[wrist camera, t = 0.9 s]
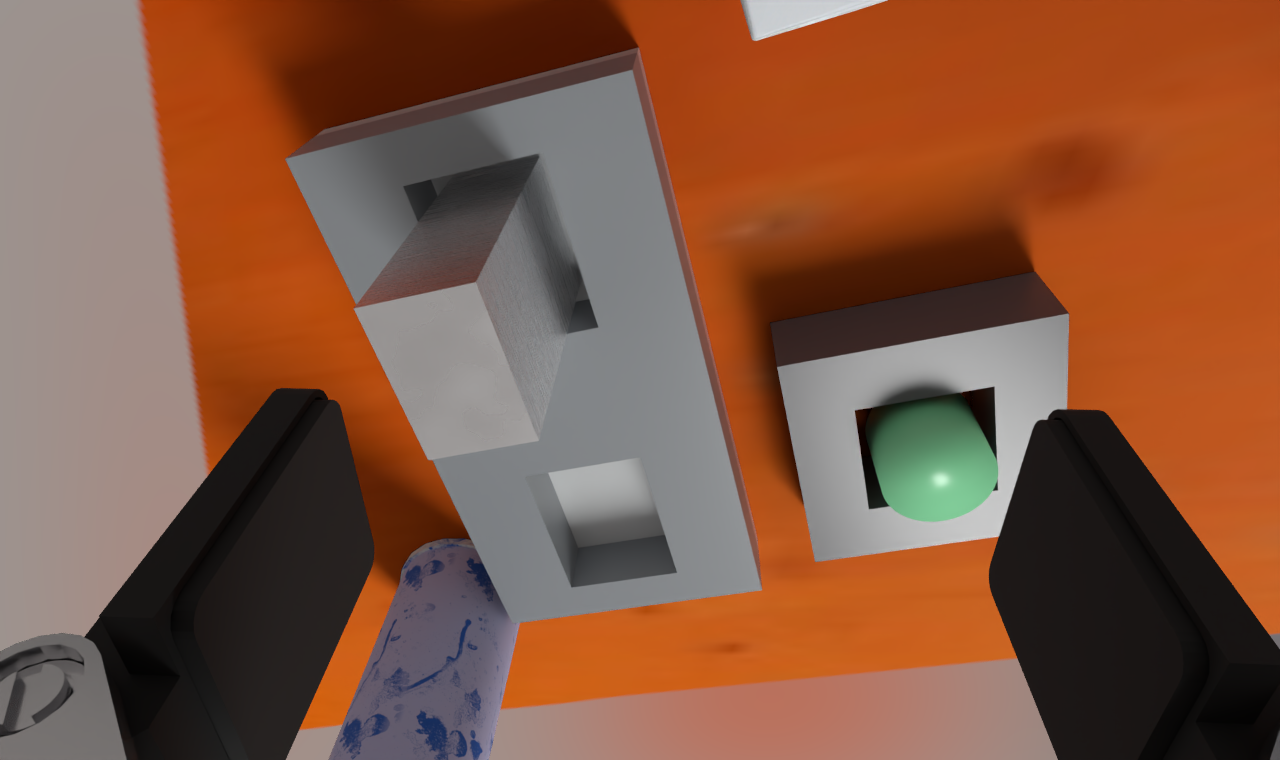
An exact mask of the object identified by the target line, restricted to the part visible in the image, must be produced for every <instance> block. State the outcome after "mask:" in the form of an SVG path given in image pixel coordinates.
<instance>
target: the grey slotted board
mask: <svg viewBox="0 0 1280 760" xmlns="http://www.w3.org/2000/svg"><path fill="white" fill-rule="evenodd" d="M538 156H540V158H541V161H542V164H543V167H544V170H545V174H546V177H547V180H548V183H549V186H550V189H551V192H552V195H553V198H554V201H555V205H556V208H557V211H558V214H559V217H560V220H561V223H562V226H563V229H564V232H565V235H566V239H567V242H568V245H569V248H570V251H571V254H572V257H573V260H574V263H575V266H576V270H577V273H578V276H579V279H580V282H581V283H580V287H579V291H578V294H577V298H576V302H575V306H574V310H573V313H572V317H571V321H570V325H569V328H568V332H567V336H566V340H565V344H564V347H563V351H562V355H561V359H560V362H559V366H558V370H557V374H556V378H555V381H554V385H553V389H552V393H551V396H550V400H549V404H548V408H547V412H546V415H545V419H544V423H543V427H542V430H541V434H540V438H539V441H535V442H530V443H524V444H518V445H513V446H507V447H501V448H496V449H490V450H484V451H479V452H473V453H467V454H461V455H456V456H450V457H444V458H439V459H433V462H434V464H435V466H436V468H437V470H438V472H439V474H440V476H441V479H442V481H443V483H444V485H445V487H446V489H447V491H448V493H449V495H450V497H451V499H452V501H453V503H454V505H455V507H456V509H457V511H458V513H459V515H460V517H461V519H462V521H463V524H464V526H465V528H466V530H467V532H468V534H469V536H470V538H471V540H472V542H473V544H474V546H475V548H476V550H477V552H478V554H479V556H480V558H481V560H482V562H483V564H484V566H485V569H486V571H487V573H488V575H489V577H490V579H491V581H492V583H493V585H494V587H495V589H496V591H497V593H498V595H499V597H500V599H501V601H502V603H503V605H504V607H505V609H506V611H507V614H508V616H509V618H510V620H511V622H512V624H514V623H521V622H529V621H536V620H543V619H551V618H558V617H566V616H573V615H581V614H588V613H595V612H603V611H610V610H618V609H625V608H633V607H640V606H648V605H655V604H662V603H670V602H677V601H685V600H692V599H700V598H707V597H714V596H722V595H729V594H737V593H744V592H752V591H759V590H762V584H761V573H760V562H759V551H758V540H757V534H756V530H755V526H754V522H753V517H752V513H751V509H750V505H749V501H748V497H747V493H746V489H745V484H744V480H743V476H742V472H741V468H740V464H739V460H738V455H737V451H736V447H735V443H734V439H733V435H732V431H731V427H730V422H729V418H728V414H727V410H726V406H725V402H724V398H723V393H722V389H721V385H720V381H719V377H718V373H717V369H716V365H715V360H714V356H713V352H712V348H711V344H710V340H709V336H708V331H707V327H706V323H705V319H704V315H703V311H702V307H701V303H700V298H699V294H698V290H697V286H696V282H695V278H694V274H693V269H692V265H691V261H690V257H689V253H688V249H687V245H686V241H685V236H684V232H683V228H682V224H681V220H680V216H679V212H678V207H677V203H676V199H675V195H674V191H673V187H672V183H671V179H670V174H669V170H668V166H667V162H666V158H665V154H664V150H663V145H662V141H661V137H660V133H659V129H658V125H657V121H656V117H655V112H654V108H653V104H652V100H651V96H650V92H649V88H648V84H647V79H646V75H645V71H644V67H643V63H642V59H641V55H640V50H639V47H638V48H634V49H631V50H627V51H623V52H619V53H615V54H611V55H608V56H604V57H600V58H596V59H592V60H588V61H585V62H581V63H577V64H573V65H569V66H566V67H562V68H558V69H554V70H550V71H546V72H543V73H539V74H535V75H531V76H527V77H523V78H520V79H516V80H512V81H508V82H504V83H500V84H497V85H493V86H489V87H485V88H481V89H477V90H474V91H470V92H466V93H462V94H458V95H454V96H451V97H447V98H443V99H439V100H435V101H432V102H428V103H424V104H420V105H416V106H412V107H409V108H405V109H401V110H397V111H393V112H389V113H386V114H382V115H378V116H374V117H370V118H366V119H363V120H359V121H355V122H351V123H347V124H343V125H340V126H336V127H332V128H328V129H324V130H323V131H322V132H320V133H319V134H318V135H316V136H315V137H314V138H312V139H311V140H310V141H308V142H307V143H306V144H304V145H303V146H302V147H300V148H299V149H298V150H296V151H295V152H294V153H292V154H291V155H290V156H288V157H287V158H286V161H287V163H288V166H289V168H290V170H291V172H292V174H293V176H294V178H295V180H296V182H297V184H298V186H299V188H300V190H301V192H302V194H303V196H304V198H305V200H306V202H307V204H308V206H309V208H310V211H311V213H312V215H313V217H314V219H315V221H316V223H317V225H318V227H319V229H320V231H321V233H322V235H323V237H324V239H325V241H326V243H327V245H328V247H329V249H330V251H331V253H332V256H333V258H334V260H335V262H336V264H337V266H338V268H339V270H340V272H341V274H342V276H343V278H344V280H345V282H346V284H347V286H348V288H349V290H350V292H351V294H352V296H353V299H354V301H355V303H356V305H357V304H358V302H359V301H360V299H361V298H362V297H363V295H364V294H365V293H366V291H367V290H368V289H369V287H370V286H371V285H372V283H373V282H374V281H375V279H376V278H377V277H378V275H379V274H380V273H381V271H382V270H383V269H384V267H385V266H386V265H387V263H388V262H389V261H390V259H391V258H392V257H393V255H394V254H395V252H396V251H397V250H398V248H399V247H400V246H401V244H402V243H403V242H404V240H405V239H406V238H407V236H408V235H409V234H410V232H411V231H412V230H413V228H414V227H415V226H416V224H417V223H418V222H419V220H420V219H421V218H422V216H423V215H424V214H425V212H426V211H427V210H428V208H429V207H430V206H431V204H432V203H433V201H434V200H435V199H436V197H437V196H438V195H439V193H440V192H441V191H442V189H443V188H444V187H445V185H446V184H447V183H448V181H449V180H450V179H451V177H455V176H459V175H463V174H468V173H472V172H476V171H480V170H484V169H488V168H492V167H496V166H501V165H505V164H509V163H513V162H517V161H521V160H525V159H530V158H534V157H538Z"/></svg>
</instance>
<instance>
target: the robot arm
mask: <svg viewBox="0 0 1280 760" xmlns="http://www.w3.org/2000/svg"><path fill="white" fill-rule="evenodd" d="M373 560H374V542H373V538H372V534H371V530H370V526H369V522H368V517H367V513H366V509H365V505H364V501H363V497H362V493H361V489H360V485H359V481H358V477H357V473H356V469H355V465H354V460H353V456H352V452H351V448H350V444H349V440H348V436H347V432H346V428H345V424H344V420H343V416H342V412H341V408H340V405H339V404H338V402H337V401H335V400H328V398H327V395H326V394H325V393H324V391H322V390H320V389H293V388H280V389H276V390H275V391H274V392H273V393H272V394H271V395H270V397H269V398H268V399H267V401H266V402H265V403H264V404H263V406H262V407H261V408H260V410H259V411H258V412H257V414H256V415H255V416H254V417H253V419H252V420H251V421H250V423H249V424H248V425H247V426H246V428H245V429H244V430H243V432H242V433H241V434H240V435H239V437H238V438H237V439H236V441H235V442H234V443H233V444H232V446H231V447H230V448H229V450H228V451H227V452H226V453H225V455H224V456H223V457H222V459H221V460H220V461H219V462H218V464H217V465H216V466H215V468H214V469H213V470H212V471H211V473H210V474H209V475H208V477H207V478H206V479H205V480H204V482H203V483H202V484H201V486H200V487H199V488H198V489H197V491H196V492H195V493H194V495H193V496H192V497H191V499H190V500H189V501H188V502H187V504H186V505H185V506H184V507H183V509H182V510H181V511H180V513H179V514H178V515H177V516H176V518H175V519H174V520H173V522H172V523H171V524H170V525H169V527H168V528H167V529H166V531H165V532H164V533H163V535H162V536H161V537H160V538H159V540H158V541H157V542H156V543H155V545H154V546H153V547H152V549H151V550H150V551H149V552H148V554H147V555H146V556H145V558H144V559H143V560H142V561H141V563H140V564H139V565H138V567H137V568H136V569H135V570H134V572H133V573H132V574H131V576H130V577H129V578H128V580H127V581H126V582H125V583H124V585H123V586H122V587H121V588H120V590H119V591H118V592H117V594H116V595H115V596H114V597H113V599H112V600H111V601H110V603H109V604H108V605H107V607H106V608H105V609H104V610H103V612H102V613H101V614H100V615H99V617H100V618H99V619H98V620H97V622H96V623H95V624H94V626H93V627H92V628H91V629H90V630H89V632H88V633H87V634H86V636H85V637H82V636H80V635H73V634H65V633H59V634H51V635H44V636H38V637H35V638H32V639H29V640H26V641H23V642H19V643H16V644H14V645H12V646H10V647H8V648H6V649H4V650H2V651H0V760H286V758H287V755H288V753H289V751H290V749H291V746H292V744H293V742H294V740H295V738H296V735H297V733H298V731H299V729H300V726H301V724H302V722H303V720H304V718H305V715H306V713H307V711H308V709H309V706H310V704H311V702H312V700H313V698H314V695H315V693H316V691H317V689H318V686H319V684H320V682H321V680H322V678H323V675H324V673H325V671H326V669H327V666H328V664H329V662H330V660H331V658H332V655H333V653H334V651H335V649H336V646H337V644H338V642H339V640H340V637H341V635H342V633H343V631H344V629H345V626H346V624H347V622H348V620H349V617H350V615H351V613H352V611H353V609H354V606H355V604H356V602H357V600H358V597H359V595H360V593H361V591H362V589H363V586H364V584H365V582H366V580H367V577H368V575H369V573H370V571H371V568H372V565H373ZM989 584H990V589H991V593H992V596H993V598H994V601H995V603H996V606H997V608H998V611H999V613H1000V616H1001V618H1002V621H1003V623H1004V626H1005V628H1006V631H1007V633H1008V636H1009V638H1010V641H1011V643H1012V646H1013V648H1014V651H1015V653H1016V656H1017V658H1018V661H1019V663H1020V666H1021V668H1022V671H1023V673H1024V676H1025V678H1026V680H1027V683H1028V686H1029V688H1030V691H1031V693H1032V695H1033V698H1034V700H1035V703H1036V706H1037V708H1038V711H1039V713H1040V716H1041V718H1042V720H1043V723H1044V726H1045V728H1046V730H1047V733H1048V735H1049V738H1050V741H1051V743H1052V745H1053V748H1054V750H1055V753H1056V756H1057V758H1058V760H1280V649H1279V648H1278V646H1277V645H1276V644H1275V642H1274V641H1273V639H1272V638H1271V637H1270V635H1269V634H1268V633H1267V631H1266V630H1265V629H1264V627H1263V626H1262V624H1261V623H1260V622H1259V620H1258V619H1257V618H1256V616H1255V615H1254V614H1253V612H1252V611H1251V609H1250V608H1249V607H1248V605H1247V604H1246V603H1245V601H1244V600H1243V598H1242V597H1241V596H1240V594H1239V593H1238V592H1237V590H1236V589H1235V588H1234V586H1233V585H1232V583H1231V582H1230V581H1229V579H1228V578H1227V577H1226V575H1225V574H1224V573H1223V571H1222V570H1221V568H1220V567H1219V566H1218V564H1217V563H1216V562H1215V560H1214V559H1213V558H1212V556H1211V555H1210V553H1209V552H1208V551H1207V549H1206V548H1205V547H1204V545H1203V544H1202V543H1201V541H1200V540H1199V538H1198V537H1197V536H1196V534H1195V533H1194V532H1193V530H1192V529H1191V528H1190V526H1189V525H1188V523H1187V522H1186V521H1185V519H1184V518H1183V517H1182V515H1181V514H1180V512H1179V511H1178V510H1177V508H1176V507H1175V506H1174V504H1173V503H1172V502H1171V500H1170V499H1169V497H1168V496H1167V495H1166V493H1165V492H1164V491H1163V489H1162V488H1161V487H1160V485H1159V484H1158V482H1157V481H1156V480H1155V478H1154V477H1153V476H1152V474H1151V473H1150V472H1149V470H1148V469H1147V467H1146V466H1145V465H1144V463H1143V462H1142V461H1141V459H1140V458H1139V457H1138V455H1137V454H1136V452H1135V451H1134V450H1133V448H1132V447H1131V446H1130V444H1129V443H1128V442H1127V440H1126V439H1125V437H1124V436H1123V435H1122V433H1121V432H1120V431H1119V429H1118V428H1117V426H1116V425H1115V424H1114V422H1113V421H1112V420H1111V418H1110V417H1109V416H1108V415H1107V414H1106V413H1105V412H1104V411H1100V410H1072V409H1056V410H1054V411H1052V412H1051V414H1050V415H1049V416H1048V419H1047V420H1039V421H1037V422H1036V423H1035V425H1034V427H1033V430H1032V433H1031V436H1030V439H1029V442H1028V446H1027V449H1026V452H1025V455H1024V458H1023V462H1022V465H1021V468H1020V471H1019V474H1018V478H1017V481H1016V484H1015V487H1014V490H1013V494H1012V497H1011V500H1010V503H1009V506H1008V510H1007V513H1006V516H1005V519H1004V522H1003V525H1002V529H1001V532H1000V535H999V538H998V541H997V545H996V548H995V551H994V554H993V557H992V561H991V564H990V569H989Z"/></svg>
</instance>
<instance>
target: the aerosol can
mask: <svg viewBox="0 0 1280 760" xmlns="http://www.w3.org/2000/svg"><path fill="white" fill-rule="evenodd" d="M519 624H520V623H514V624H512V622H511V620H510V618H509V616H508V614H507V611H506V609H505V607H504V605H503V603H502V601H501V599H500V597H499V595H498V593H497V591H496V589H495V587H494V585H493V583H492V581H491V579H490V577H489V575H488V573H487V571H486V569H485V566H484V564H483V562H482V560H481V558H480V556H479V554H478V552H477V550H476V548H475V546H474V544H473V542H472V540H469V539H441V540H437V541H433V542H430V543H426V544H424V545H423V546H421V547H420V548H418V549H417V550H415V551H414V552H412V553H411V555H410V556H409V558H408V559H407V561H406V562H405V564H404V565H403V568H402V570H401V578H400V584H399V586H398V589H397V591H396V594H395V596H394V599H393V601H392V603H391V606H390V608H389V611H388V613H387V616H386V618H385V621H384V623H383V626H382V628H381V631H380V633H379V636H378V638H377V641H376V643H375V646H374V648H373V651H372V653H371V656H370V658H369V661H368V663H367V666H366V668H365V670H364V673H363V675H362V678H361V680H360V683H359V685H358V688H357V690H356V693H355V695H354V698H353V700H352V703H351V705H350V708H349V710H348V713H347V715H346V718H345V720H344V723H343V725H342V728H341V730H340V732H339V735H338V737H337V740H336V742H335V745H334V748H333V750H332V752H331V755H330V758H329V760H489V756H490V752H491V748H492V743H493V738H494V734H495V730H496V726H497V721H498V717H499V712H500V708H501V704H502V699H503V695H504V690H505V686H506V682H507V677H508V673H509V668H510V664H511V660H512V655H513V651H514V646H515V642H516V637H517V633H518V629H519Z"/></svg>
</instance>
